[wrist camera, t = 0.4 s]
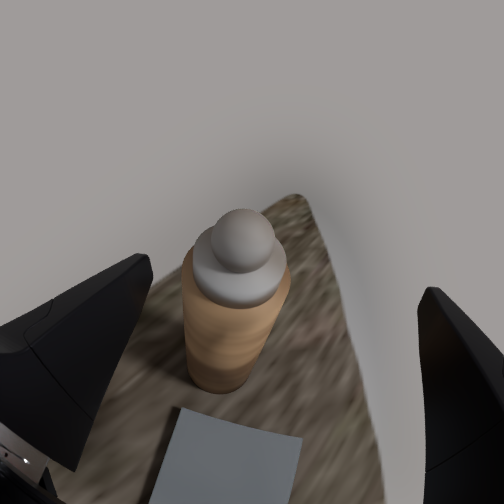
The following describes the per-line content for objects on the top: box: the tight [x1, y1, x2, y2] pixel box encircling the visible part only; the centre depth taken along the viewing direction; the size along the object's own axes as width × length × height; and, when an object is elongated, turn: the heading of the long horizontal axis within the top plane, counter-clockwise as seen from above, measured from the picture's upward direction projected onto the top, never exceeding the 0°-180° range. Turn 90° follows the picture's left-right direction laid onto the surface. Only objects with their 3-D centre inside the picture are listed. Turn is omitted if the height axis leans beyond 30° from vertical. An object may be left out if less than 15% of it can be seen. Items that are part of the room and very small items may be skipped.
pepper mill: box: [182, 209, 291, 394], centre depth 17 cm, size 5×5×15 cm
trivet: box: [149, 408, 303, 504], centre depth 16 cm, size 9×9×1 cm
